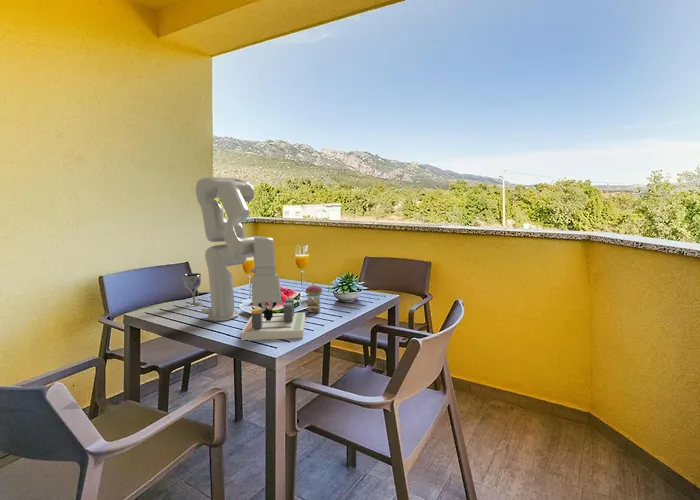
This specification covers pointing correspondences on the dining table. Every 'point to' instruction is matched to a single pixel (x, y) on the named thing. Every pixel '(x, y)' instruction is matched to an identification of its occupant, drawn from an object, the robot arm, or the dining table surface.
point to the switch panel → (277, 325)
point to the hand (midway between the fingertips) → (268, 319)
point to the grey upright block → (257, 318)
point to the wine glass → (192, 284)
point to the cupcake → (313, 290)
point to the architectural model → (313, 304)
